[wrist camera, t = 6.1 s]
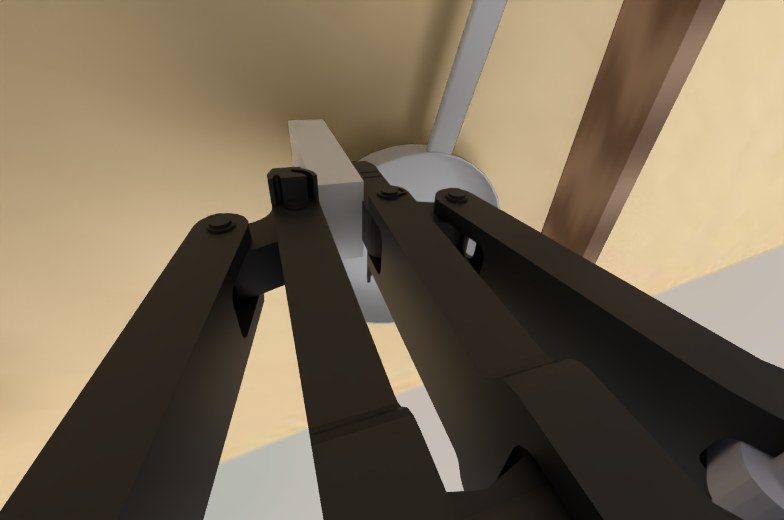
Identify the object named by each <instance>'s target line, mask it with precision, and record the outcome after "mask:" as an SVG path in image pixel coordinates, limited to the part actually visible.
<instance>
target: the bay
mask: <svg viewBox="0 0 784 520" xmlns="http://www.w3.org/2000/svg"><path fill="white" fill-rule="evenodd" d="M724 2H725V0H624V3H623V6H622V9H621V11H620V14H619V17H618V20H617V23H616V25H615V28H614V31H613V34H612V37H611V39H610V42H609V45H608V48H607V51H606V54H605V56H604V59H603V62H602V65H601V68H600V70H599V73H598V76H597V79H596V82H595V84H594V87H593V90H592V93H591V96H590V98H589V101H588V104H587V107H586V110H585V112H584V115H583V118H582V121H581V124H580V126H579V129H578V132H577V135H576V138H575V140H574V143H573V146H572V149H571V152H570V154H569V157H568V160H567V163H566V166H565V168H564V171H563V174H562V177H561V180H560V183H559V185H558V188H557V191H556V194H555V197H554V199H553V202H552V205H551V208H550V211H549V213H548V216H547V219H546V222H545V225H544V227H543V230H542V234H544V235H545V236H547V237H549V238H551V239H552V240H554V241H556V242H557V243H559V244H561V245H563V246H564V247H566V248H568V249H570V250H571V251H573V252H575V253H577V254H578V255H580V256H582V257H584V258H585V259H587V260H589V261H590V262H592V263H594V264H595V263H596V261H597V259H598V257H599V255H600V253H601V251H602V249H603V247H604V245H605V243H606V241H607V239H608V237H609V235H610V233H611V231H612V229H613V227H614V225H615V222H616V220H617V218H618V216H619V214H620V212H621V210H622V208H623V206H624V204H625V202H626V200H627V198H628V196H629V194H630V192H631V190H632V188H633V186H634V184H635V182H636V180H637V178H638V176H639V174H640V172H641V170H642V168H643V166H644V164H645V162H646V160H647V158H648V156H649V154H650V152H651V150H652V148H653V146H654V144H655V142H656V140H657V138H658V136H659V134H660V132H661V130H662V127H663V125H664V123H665V121H666V119H667V117H668V115H669V113H670V111H671V109H672V107H673V105H674V103H675V101H676V99H677V97H678V95H679V93H680V91H681V89H682V87H683V85H684V83H685V81H686V79H687V77H688V75H689V73H690V71H691V69H692V67H693V65H694V63H695V61H696V59H697V57H698V55H699V53H700V51H701V49H702V47H703V45H704V43H705V41H706V39H707V37H708V35H709V33H710V30H711V28H712V26H713V24H714V22H715V20H716V18H717V16H718V14H719V12H720V10H721V8H722V6H723V4H724Z"/></svg>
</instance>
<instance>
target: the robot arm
mask: <svg viewBox="0 0 784 520" xmlns="http://www.w3.org/2000/svg"><path fill="white" fill-rule="evenodd" d="M288 127H289V136H290V144H291V153H292V161H293V167H288V168H275V169H271V171H270V172H269V173H268V174H267V178H268V185H269V191H270V197H271V203H272V211H271V212H270V214H269V215H267V216H266V217H265V218H263V219H261V220H258V221H256V222H253V223H249V224H248V220H247V219H246V218H245V217H244V216H241V215H238V214H231V213H225V214H222V213H218V214H215V215H210V216H208V217H206V218H204V219H202V220H200V221H198V222H197V223H196V224H195V225H194V226H193V228H192V229H191V231H190V232H189V233H188V235H187V236H186V238H185V239H184V241H183V242H182V244H181V245H180V247H179V248H178V250H177V251H176V253H175V254H174V256H173V257H172V259H171V260H170V262H169V263H168V264H167V266H166V267H165V269H164V270H163V272H162V273H161V275H160V276H159V278H158V279H157V281H156V282H155V284H154V285H153V287H152V288H151V290H150V291H149V293H148V294H147V295H146V297H145V298H144V300H143V301H142V303H141V304H140V306H139V307H138V309H137V310H136V312H135V313H134V315H133V316H132V318H131V319H130V321H129V322H128V324H127V325H126V326H125V328H124V329H123V331H122V332H121V334H120V335H119V337H118V338H117V340H116V341H115V343H114V344H113V346H112V347H111V349H110V350H109V352H108V353H107V355H106V356H105V357H104V359H103V360H102V362H101V363H100V365H99V366H98V368H97V369H96V371H95V372H94V374H93V375H92V377H91V378H90V380H89V381H88V383H87V384H86V386H85V387H84V388H83V390H82V391H81V393H80V394H79V396H78V397H77V399H76V400H75V402H74V403H73V405H72V406H71V408H70V409H69V411H68V412H67V414H66V415H65V417H64V418H63V419H62V421H61V422H60V424H59V425H58V427H57V428H56V430H55V431H54V433H53V434H52V436H51V437H50V439H49V440H48V442H47V443H46V445H45V446H44V448H43V449H42V450H41V452H40V453H39V455H38V456H37V458H36V459H35V461H34V462H33V464H32V465H31V467H30V468H29V470H28V471H27V473H26V474H25V476H24V477H23V479H22V480H21V481H20V483H19V484H18V486H17V487H16V489H15V490H14V492H13V493H12V495H11V496H10V498H9V499H8V501H7V502H6V504H5V505H4V507H3V508H2V510H1V511H0V520H203V518H204V515H205V511H206V508H207V504H208V500H209V497H210V493H211V490H212V486H213V483H214V479H215V475H216V472H217V468H218V465H219V461H220V458H221V454H222V450H223V447H224V443H225V440H226V436H227V432H228V429H229V425H230V422H231V418H232V415H233V411H234V407H235V404H236V400H237V397H238V393H239V389H240V386H241V382H242V379H243V375H244V371H245V368H246V364H247V361H248V357H249V353H250V350H251V346H252V343H253V339H254V336H255V332H256V328H257V325H258V321H259V318H260V314H261V310H262V307H263V303H264V293H265V292H268V291H270V290H273V289H275V288H278V287H280V286H283V285H285V288H286V294H287V300H288V306H289V312H290V318H291V325H292V331H293V337H294V343H295V349H296V355H297V361H298V367H299V373H300V379H301V385H302V391H303V397H304V403H305V410H306V416H307V422H308V428H309V434H310V440H311V446H312V452H313V458H314V464H315V470H316V476H317V482H318V489H319V495H320V501H321V507H322V513H323V519H324V520H784V369H782V368H780V367H777V366H775V365H772V364H770V363H768V362H765V361H763V360H761V359H759V358H757V357H755V356H754V355H752V354H750V353H748V352H747V351H745V350H743V349H742V348H740V347H738V346H736V345H735V344H733V343H731V342H729V341H728V340H726V339H724V338H722V337H721V336H719V335H717V334H715V333H713V332H712V331H710V330H708V329H707V328H705V327H703V326H701V325H700V324H698V323H696V322H695V321H693V320H691V319H689V318H688V317H686V316H684V315H682V314H681V313H679V312H677V311H676V310H674V309H672V308H670V307H669V306H667V305H665V304H663V303H662V302H660V301H658V300H656V299H655V298H653V297H651V296H650V295H648V294H646V293H644V292H643V291H641V290H639V289H637V288H636V287H634V286H632V285H630V284H629V283H627V282H625V281H623V280H622V279H620V278H618V277H617V276H615V275H613V274H611V273H610V272H608V271H606V270H604V269H603V268H601V267H599V266H597V265H596V264H594V263H592V262H590V261H589V260H587V259H585V258H584V257H582V256H580V255H578V254H577V253H575V252H573V251H571V250H570V249H568V248H566V247H564V246H563V245H561V244H559V243H557V242H556V241H554V240H552V239H551V238H549V237H547V236H545V235H544V234H542V233H540V232H538V231H537V230H535V229H533V228H531V227H530V226H528V225H526V224H524V223H523V222H521V221H519V220H518V219H516V218H514V217H512V216H511V215H509V214H507V213H505V212H504V211H502V210H500V209H498V208H497V207H495V206H493V205H491V204H490V203H488V202H486V201H485V200H483V199H481V198H479V197H478V196H476V195H474V194H472V193H470V192H468V191H466V190H461V189H460V188H447V189H442V190H439V191H437V193H436V194H435V200H434V202H419V201H416V200H415V199H414V197H413V196H412V195H411V194H410V193H409V192H408V191H407V190H406V189H404V188H402V187H399V186H393V185H390V184H389V183H388V181H387V180H386V179H385V178H384V177H383V175H382V174H381V173H380V172H379V170H378V169H377V167H376V166H375V165H373V164H371V163H369V162H367V161H355V162H351V161H350V160H349V158H348V157H347V155H346V154H345V152H344V151H343V149H342V148H341V146H340V145H339V143H338V142H337V140H336V138H335V137H334V135H333V134H332V132H331V131H330V129H329V128H328V126H327V125H326V123H325V122H324V120H323V119H315V120H288ZM469 238H470V239H471V240H472V241H474V242H475V243H476V247H475V251H474V254H473V256H471V255H469V254H468V253H466V250H467V246H468V241H469ZM363 243H364V245H365V247H366V249H367V283H369V282H371V276H372V275H373V277H374V279H375V282H376V284H377V286H378V288H379V290H380V292H381V294H382V296H383V299H384V301H385V303H386V305H387V307H388V309H389V311H390V313H391V316H392V318H393V320H394V322H395V324H396V326H397V328H398V331H399V333H400V335H401V337H402V339H403V341H404V343H405V345H406V348H407V350H408V352H409V354H410V356H411V358H412V360H413V362H414V365H415V367H416V369H417V371H418V373H419V375H420V377H421V379H422V382H423V384H424V386H425V388H426V390H427V392H428V394H429V396H430V399H431V401H432V403H433V405H434V407H435V409H436V411H437V413H438V416H439V418H440V420H441V422H442V424H443V426H444V428H445V430H446V433H447V435H448V437H449V439H450V441H451V443H452V445H453V447H454V450H455V452H456V455H457V458H458V462H459V469H460V476H461V481H462V485H463V488H464V491H460V492H446V491H445V488H444V485H443V483H442V481H441V478H440V476H439V473H438V471H437V469H436V466H435V464H434V461H433V459H432V456H431V454H430V452H429V449H428V447H427V444H426V442H425V440H424V437H423V435H422V433H421V430H420V428H419V426H418V424H417V422H416V420H415V418H414V416H413V414H412V413H411V412H410V411H409V409H408V408H407V407H401V406H400V405H399V403H398V402H397V400H396V397H395V395H394V393H393V390H392V388H391V385H390V382H389V380H388V377H387V375H386V372H385V370H384V367H383V364H382V362H381V359H380V357H379V354H378V352H377V349H376V346H375V344H374V341H373V339H372V336H371V334H370V331H369V328H368V326H367V323H366V321H365V318H364V316H363V313H362V311H361V308H360V305H359V303H358V300H357V298H356V295H355V293H354V290H353V287H352V285H351V282H350V280H349V277H348V275H347V272H346V269H345V267H344V264H343V262H342V260H345V259H351V258H357V257H363Z"/></svg>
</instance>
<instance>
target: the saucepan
mask: <svg viewBox="0 0 784 520" xmlns="http://www.w3.org/2000/svg"><path fill="white" fill-rule="evenodd" d="M506 3H507V0H473V2H472V5H471V9H470V12H469V15H468V18H467V21H466V24H465V28H464V31H463V34H462V37H461V40H460V43H459V46H458V50H457V53H456V56H455V59H454V62H453V65H452V68H451V72H450V75H449V78H448V81H447V84H446V87H445V91H444V94H443V97H442V100H441V103H440V106H439V109H438V113H437V116H436V119H435V122H434V125H433V128H432V131H431V135H430V138H429V141H428V144H427V145H420V144H406V145H399V146H392V147H389V148H386V149H383V150H380V151H377V152H374V153H371V154H369V155H367V156H366V157H364V158H362V159H360V160H358V161H367V162H369V163H371V164H373V165H375V166H376V167H377V169H378V170H379V172H380V173H381V174H382V175H383V177H384V178H385V179H386V180H387V181H388V183H389V184H390V185H393V186H399V187H402V188H404V189H406V190H407V191H408V192H409V193H410V194H411V195H412V196H413V197H414V199H415V200H416V201H419V202H434V200H435V194H436V193H437V191H439V190H442V189H447V188H460V189H461V190H466V191H468V192H470V193H472V194H474V195H476V196H478V197H479V198H481V199H483V200H485V201H486V202H488V203H490V204H491V205H493V206H495V207H497V208H498V209H500V208H499V202H498V197H497V195H496V192H495V190H494V188H493V185H492V184H491V182H490V181H489V180H488V178H487V177H486V176H485V174H484V173H483V172H481V171H480V170H479V169H478V168H477V167H475V166H474V165H473V164H472V163H470V162H468V161H466V160H465V159H463V158H461V157H459V156H457V155H455V154H453V153H452V151H453V149H454V146H455V143H456V140H457V138H458V135H459V132H460V129H461V127H462V124H463V121H464V118H465V116H466V113H467V110H468V107H469V105H470V102H471V99H472V96H473V94H474V91H475V88H476V85H477V83H478V80H479V77H480V74H481V72H482V69H483V66H484V63H485V61H486V58H487V55H488V52H489V50H490V47H491V44H492V41H493V39H494V36H495V33H496V30H497V28H498V25H499V22H500V19H501V17H502V14H503V11H504V8H505V6H506ZM475 247H476V243H475V242H474V241H472V240H471V239H470V238H469V241H468V246H467V250H466V253H468V254H469V255H471V256H473V254H474V251H475ZM342 262H343V264H344V267H345V269H346V272H347V275H348V277H349V280H350V282H351V285H352V287H353V290H354V293H355V295H356V298H357V300H358V303H359V305H360V308H361V311H362V313H363V316H364V318H365V321H366V323H371V324H391V323H395V322H394V320H393V318H392V316H391V313H390V311H389V309H388V307H387V305H386V303H385V301H384V299H383V296H382V294H381V292H380V290H379V288H378V286H377V284H376V282H375V279H374V277H373V275H372V276H371V282H369V283H367V249H366V247H365V245H364V243H363V257H357V258H351V259H345V260H342Z"/></svg>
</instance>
